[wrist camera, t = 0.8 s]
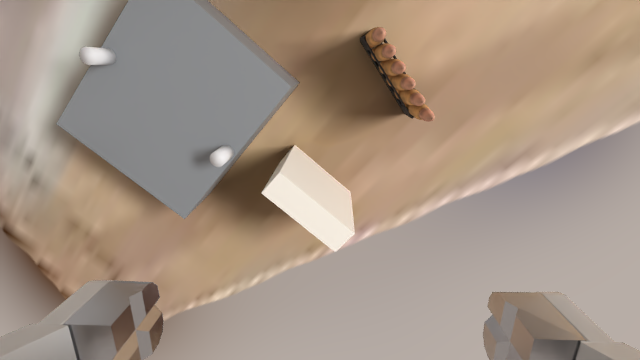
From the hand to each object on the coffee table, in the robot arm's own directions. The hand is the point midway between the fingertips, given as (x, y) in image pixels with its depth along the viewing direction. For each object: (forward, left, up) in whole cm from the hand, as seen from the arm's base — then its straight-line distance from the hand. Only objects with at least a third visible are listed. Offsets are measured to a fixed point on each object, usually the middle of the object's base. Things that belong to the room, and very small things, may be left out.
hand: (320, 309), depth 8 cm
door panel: (+8, +4, -37) cm, 38 cm away
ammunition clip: (-8, +2, -37) cm, 38 cm away
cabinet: (+10, -14, -37) cm, 41 cm away
